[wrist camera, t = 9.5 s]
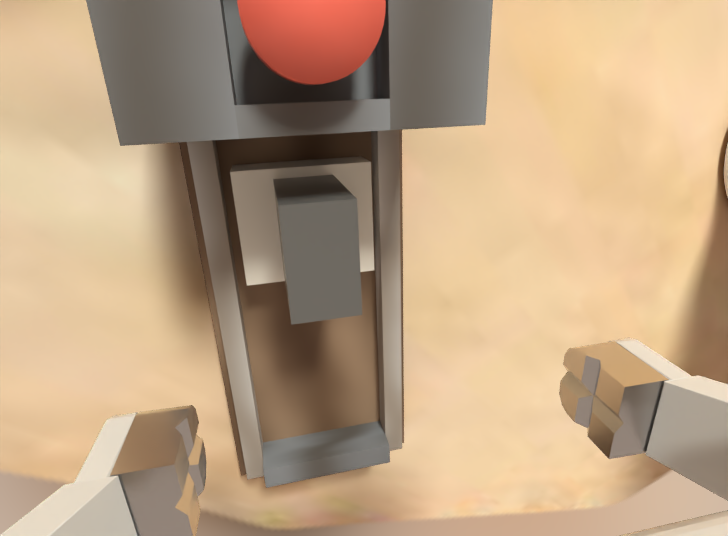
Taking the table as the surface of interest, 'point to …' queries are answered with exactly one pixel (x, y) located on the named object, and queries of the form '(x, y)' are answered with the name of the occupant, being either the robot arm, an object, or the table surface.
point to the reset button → (312, 36)
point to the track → (294, 143)
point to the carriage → (307, 231)
